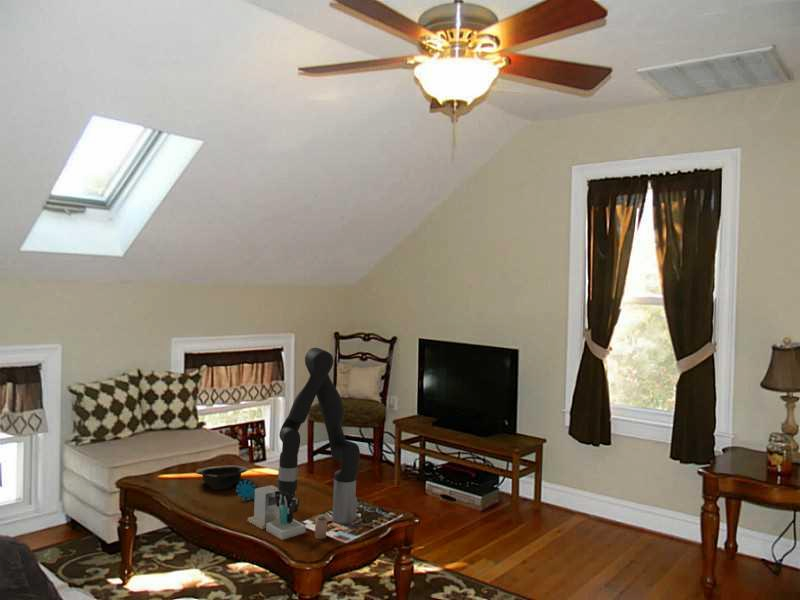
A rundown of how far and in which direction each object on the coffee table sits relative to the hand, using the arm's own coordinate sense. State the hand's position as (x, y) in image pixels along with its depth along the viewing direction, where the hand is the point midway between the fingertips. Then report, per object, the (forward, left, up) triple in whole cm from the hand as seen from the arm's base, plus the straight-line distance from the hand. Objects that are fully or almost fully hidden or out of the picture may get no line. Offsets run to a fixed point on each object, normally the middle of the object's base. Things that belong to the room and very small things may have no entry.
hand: (286, 520), depth 259 cm
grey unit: (0, -13, -5) cm, 14 cm away
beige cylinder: (-8, +12, -5) cm, 15 cm away
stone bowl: (-9, -67, -5) cm, 68 cm away
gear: (-9, -43, -5) cm, 44 cm away
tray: (0, 0, -5) cm, 5 cm away
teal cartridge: (0, 0, -1) cm, 1 cm away
